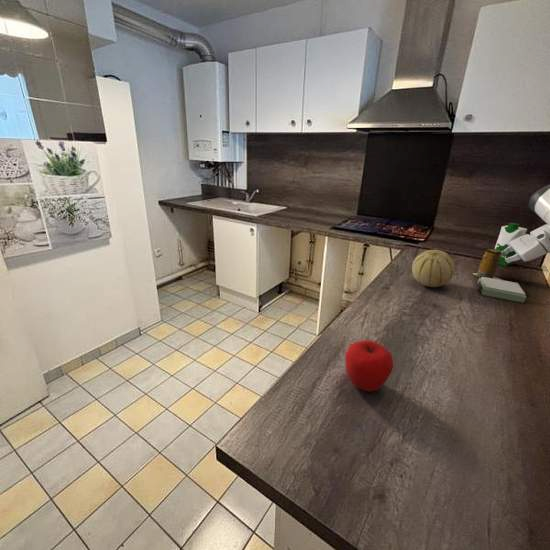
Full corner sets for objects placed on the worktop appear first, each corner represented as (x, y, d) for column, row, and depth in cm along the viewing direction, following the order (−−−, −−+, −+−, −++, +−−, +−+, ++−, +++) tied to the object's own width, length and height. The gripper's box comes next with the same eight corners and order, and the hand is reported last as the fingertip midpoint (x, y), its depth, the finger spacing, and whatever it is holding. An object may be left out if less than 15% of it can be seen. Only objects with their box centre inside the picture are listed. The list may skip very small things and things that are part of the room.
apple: (335, 387, 64) (341, 347, 60) (350, 364, 72) (356, 326, 67) (380, 409, 59) (390, 367, 55) (391, 381, 67) (401, 342, 62)
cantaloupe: (447, 282, 120) (457, 247, 114) (450, 296, 108) (462, 258, 102) (409, 275, 126) (417, 241, 120) (407, 288, 113) (416, 251, 107)
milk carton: (487, 261, 146) (501, 222, 138) (496, 258, 150) (510, 220, 142) (507, 267, 139) (522, 226, 131) (516, 264, 143) (531, 224, 135)
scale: (515, 290, 115) (518, 282, 114) (524, 303, 105) (527, 294, 104) (476, 283, 120) (478, 275, 119) (480, 294, 111) (483, 286, 109)
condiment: (484, 272, 131) (493, 247, 127) (502, 280, 124) (512, 253, 119) (471, 273, 130) (480, 248, 125) (488, 281, 122) (498, 254, 117)
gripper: (529, 227, 122) (493, 245, 130) (546, 238, 105) (504, 258, 113) (538, 239, 122) (502, 256, 130) (556, 252, 105) (513, 271, 113)
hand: (503, 258), depth 121 cm, fingers open, 8 cm apart
